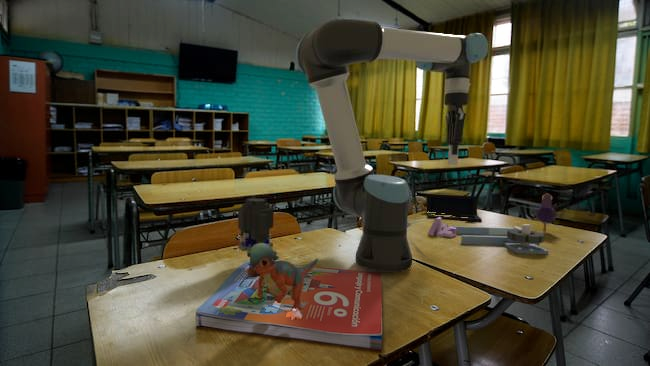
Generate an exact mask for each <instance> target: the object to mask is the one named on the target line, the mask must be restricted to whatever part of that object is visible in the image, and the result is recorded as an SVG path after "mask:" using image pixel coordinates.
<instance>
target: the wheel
mask: <svg viewBox="0 0 650 366" xmlns="http://www.w3.org/2000/svg"><path fill="white" fill-rule="evenodd" d="M521 232H522V228H521V229H514V230H512V229H511V230H508V232H507V235H506V236H507V238H509V239H511V240H514V241H518V242H524V243H526V242H527V243H540V244H542V243H545V241H546V234H544V232H539V231H536V230H531V233H530V234H521Z"/></svg>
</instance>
